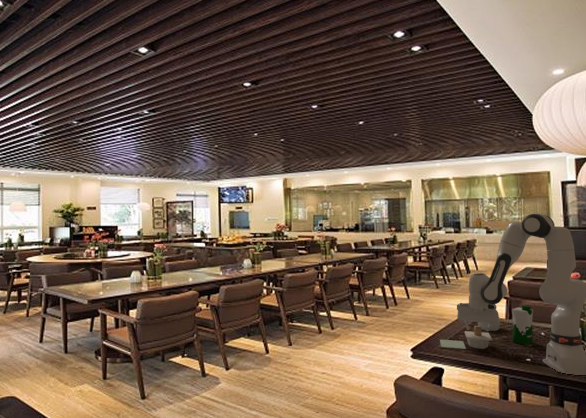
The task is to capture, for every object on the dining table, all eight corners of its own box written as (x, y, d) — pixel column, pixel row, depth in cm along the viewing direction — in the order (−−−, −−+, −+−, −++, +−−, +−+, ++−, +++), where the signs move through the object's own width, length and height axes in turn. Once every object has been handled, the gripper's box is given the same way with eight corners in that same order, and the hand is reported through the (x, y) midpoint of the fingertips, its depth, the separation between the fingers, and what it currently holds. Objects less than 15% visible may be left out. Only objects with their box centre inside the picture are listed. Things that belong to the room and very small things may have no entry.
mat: (465, 349, 217) (465, 348, 217) (441, 347, 221) (441, 346, 221) (463, 341, 230) (463, 341, 230) (439, 340, 233) (439, 339, 233)
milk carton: (527, 346, 222) (526, 308, 223) (510, 341, 230) (509, 305, 230) (535, 343, 227) (534, 305, 228) (518, 339, 235) (517, 303, 235)
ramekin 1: (485, 351, 215) (485, 340, 215) (463, 346, 222) (463, 336, 222) (492, 345, 223) (492, 336, 223) (470, 341, 231) (470, 332, 231)
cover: (492, 340, 215) (492, 330, 215) (466, 338, 219) (466, 328, 219) (488, 334, 227) (488, 324, 227) (464, 332, 230) (464, 322, 230)
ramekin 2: (472, 327, 259) (471, 316, 259) (486, 324, 265) (486, 313, 265) (491, 332, 247) (490, 321, 247) (505, 329, 253) (505, 318, 254)
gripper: (457, 303, 223) (457, 330, 223) (499, 306, 217) (499, 333, 217) (456, 301, 229) (456, 326, 229) (497, 303, 223) (497, 329, 223)
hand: (477, 329), depth 223 cm, fingers open, 8 cm apart
